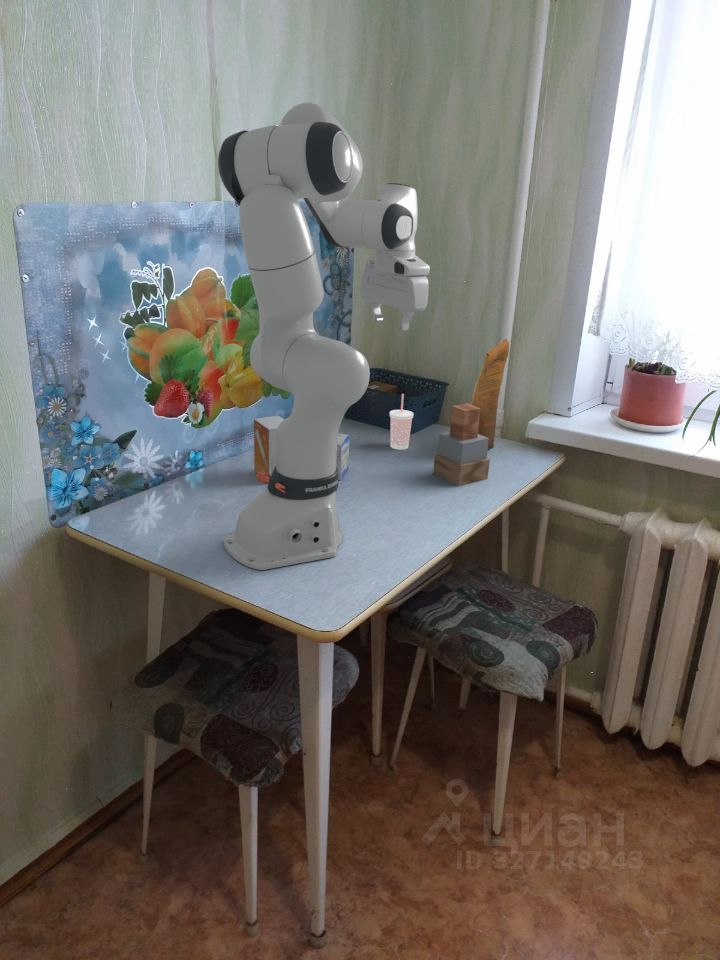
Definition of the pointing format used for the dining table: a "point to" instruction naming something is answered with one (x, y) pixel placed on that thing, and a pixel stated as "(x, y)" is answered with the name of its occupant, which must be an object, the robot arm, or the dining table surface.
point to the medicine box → (342, 455)
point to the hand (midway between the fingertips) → (390, 325)
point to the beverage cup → (400, 427)
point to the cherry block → (464, 421)
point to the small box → (265, 443)
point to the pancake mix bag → (490, 389)
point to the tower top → (463, 448)
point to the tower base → (461, 470)
